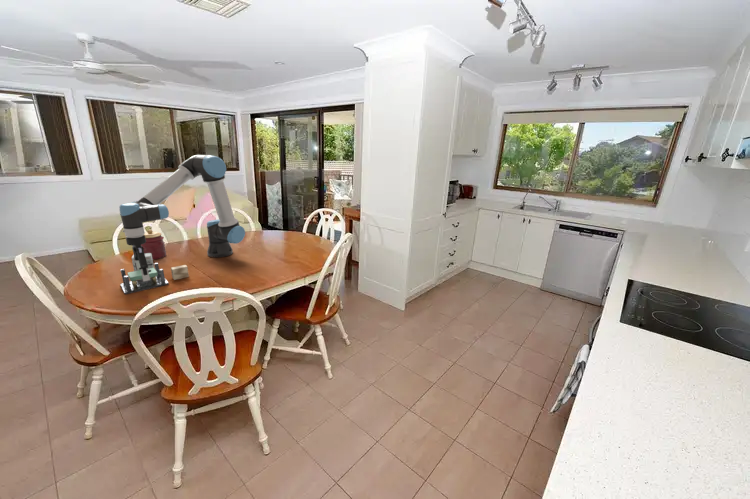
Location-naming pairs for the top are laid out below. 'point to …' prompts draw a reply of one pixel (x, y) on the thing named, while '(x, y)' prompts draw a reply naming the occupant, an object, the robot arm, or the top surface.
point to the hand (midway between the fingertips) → (143, 276)
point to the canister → (154, 244)
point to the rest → (179, 272)
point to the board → (137, 274)
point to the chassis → (143, 282)
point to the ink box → (148, 259)
